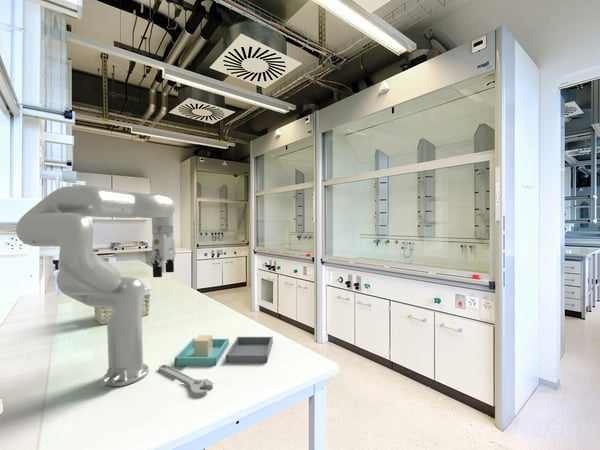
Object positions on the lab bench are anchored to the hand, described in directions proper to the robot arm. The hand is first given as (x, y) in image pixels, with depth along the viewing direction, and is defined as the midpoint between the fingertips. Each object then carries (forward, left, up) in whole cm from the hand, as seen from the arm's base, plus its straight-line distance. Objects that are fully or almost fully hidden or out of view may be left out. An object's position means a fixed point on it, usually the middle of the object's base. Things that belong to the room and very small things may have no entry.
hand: (163, 274), depth 117 cm
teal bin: (-8, -18, -28) cm, 34 cm away
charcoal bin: (-6, -35, -28) cm, 45 cm away
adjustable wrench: (-24, -18, -29) cm, 41 cm away
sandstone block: (-8, -18, -28) cm, 34 cm away
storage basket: (+34, +39, -29) cm, 59 cm away
